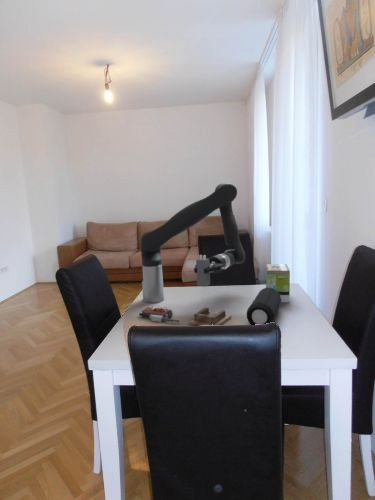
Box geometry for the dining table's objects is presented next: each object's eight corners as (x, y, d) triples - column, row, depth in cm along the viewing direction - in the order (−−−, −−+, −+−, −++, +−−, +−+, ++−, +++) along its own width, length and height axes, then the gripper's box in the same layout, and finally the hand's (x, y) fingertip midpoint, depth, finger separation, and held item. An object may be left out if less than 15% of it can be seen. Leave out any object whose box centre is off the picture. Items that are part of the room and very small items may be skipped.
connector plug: (197, 285, 149) (195, 255, 147) (202, 283, 153) (200, 254, 151) (205, 286, 147) (204, 256, 145) (210, 284, 150) (208, 254, 148)
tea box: (290, 302, 156) (290, 270, 153) (267, 302, 158) (266, 270, 155) (287, 293, 170) (286, 263, 168) (265, 293, 172) (265, 263, 170)
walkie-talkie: (135, 319, 146) (178, 325, 136) (135, 309, 145) (177, 314, 136) (147, 312, 153) (188, 318, 144) (147, 302, 153) (188, 307, 143)
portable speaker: (258, 308, 151) (258, 285, 150) (282, 309, 148) (282, 286, 146) (245, 330, 128) (244, 303, 126) (273, 333, 124) (272, 305, 123)
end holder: (188, 324, 137) (188, 315, 136) (205, 313, 147) (204, 305, 147) (215, 329, 130) (215, 320, 129) (231, 317, 141) (231, 309, 140)
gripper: (205, 254, 164) (184, 261, 150) (233, 255, 156) (214, 263, 142) (205, 269, 165) (185, 278, 151) (233, 272, 157) (215, 281, 143)
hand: (199, 271), depth 146 cm, fingers closed on connector plug, 4 cm apart
